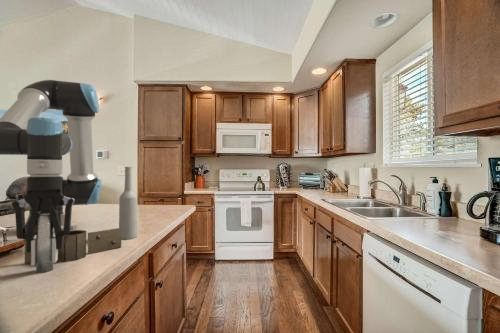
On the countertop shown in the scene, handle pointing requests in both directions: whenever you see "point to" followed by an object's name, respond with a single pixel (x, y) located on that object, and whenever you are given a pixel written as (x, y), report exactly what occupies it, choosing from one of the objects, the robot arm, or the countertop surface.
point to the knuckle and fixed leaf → (68, 247)
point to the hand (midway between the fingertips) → (44, 262)
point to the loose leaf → (104, 240)
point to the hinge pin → (44, 243)
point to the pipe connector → (73, 225)
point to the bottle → (128, 208)
